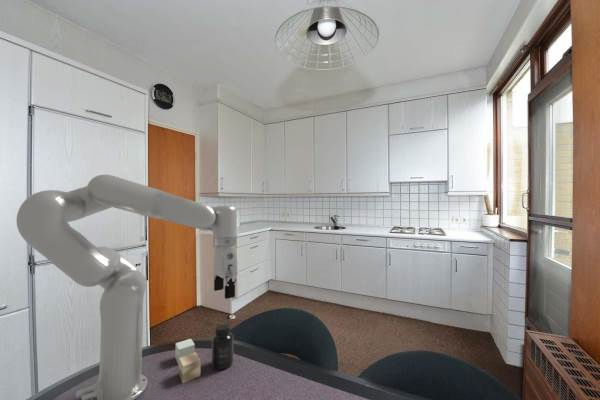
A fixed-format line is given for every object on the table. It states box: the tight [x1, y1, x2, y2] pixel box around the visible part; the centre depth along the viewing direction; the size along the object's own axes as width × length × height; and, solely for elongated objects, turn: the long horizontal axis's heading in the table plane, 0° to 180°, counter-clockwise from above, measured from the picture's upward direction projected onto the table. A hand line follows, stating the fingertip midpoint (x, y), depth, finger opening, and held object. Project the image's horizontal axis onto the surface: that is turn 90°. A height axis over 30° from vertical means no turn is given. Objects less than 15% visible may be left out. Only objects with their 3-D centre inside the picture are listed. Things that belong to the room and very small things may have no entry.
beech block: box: [178, 352, 202, 384], centre depth 75 cm, size 5×5×5 cm
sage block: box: [174, 338, 196, 366], centre depth 83 cm, size 5×5×5 cm
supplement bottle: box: [211, 323, 234, 371], centre depth 81 cm, size 7×7×12 cm
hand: (224, 293), depth 81 cm, fingers open, 9 cm apart
